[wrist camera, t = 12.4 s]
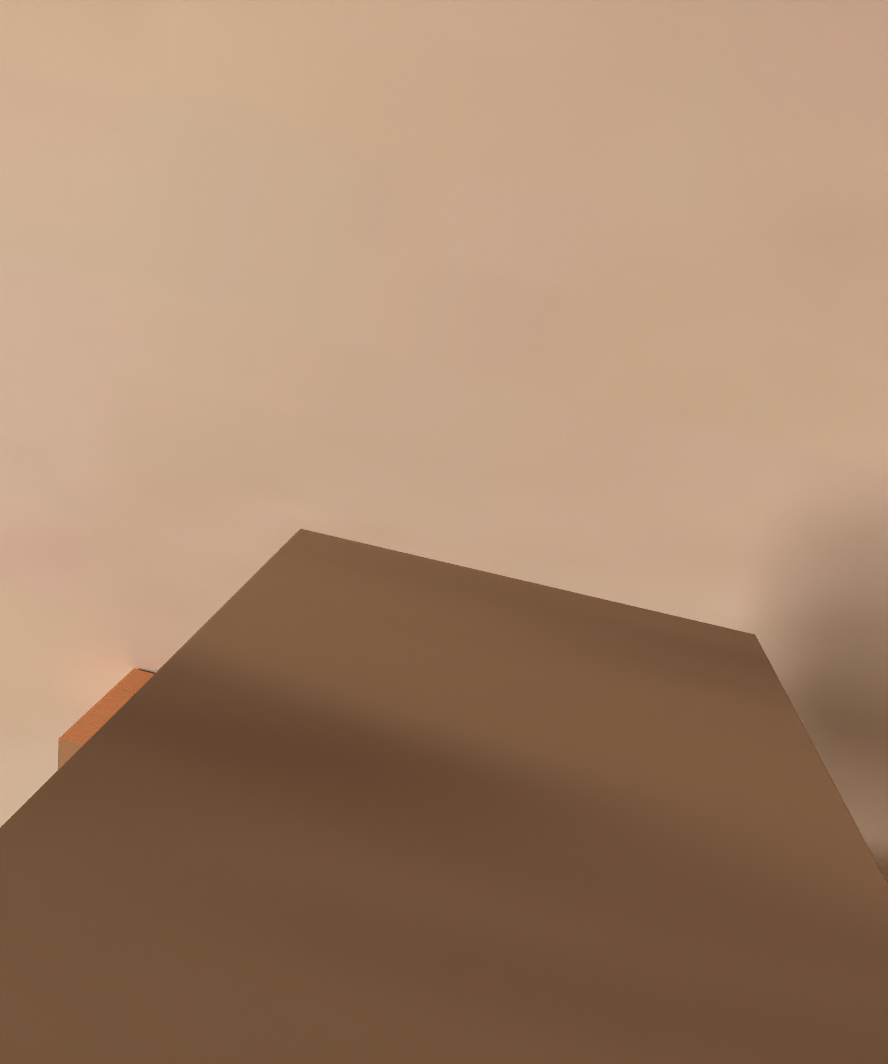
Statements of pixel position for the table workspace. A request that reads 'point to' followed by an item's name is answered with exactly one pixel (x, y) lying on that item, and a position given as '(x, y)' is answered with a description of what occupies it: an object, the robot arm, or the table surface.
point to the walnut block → (443, 842)
